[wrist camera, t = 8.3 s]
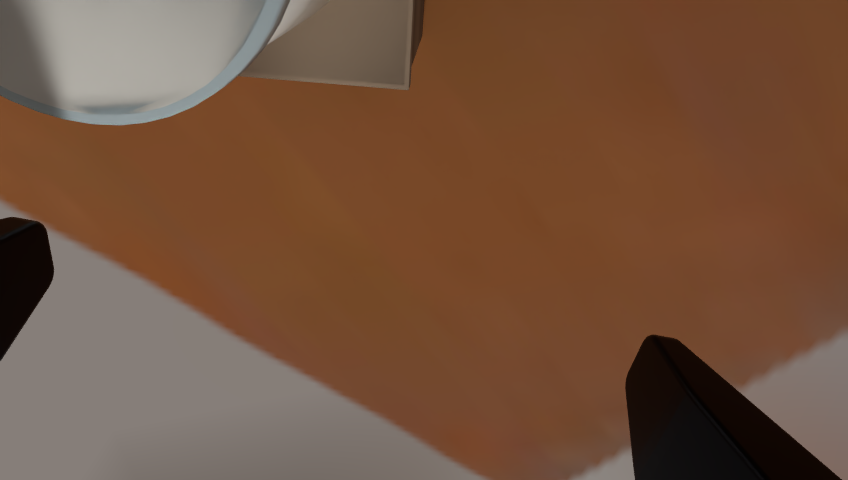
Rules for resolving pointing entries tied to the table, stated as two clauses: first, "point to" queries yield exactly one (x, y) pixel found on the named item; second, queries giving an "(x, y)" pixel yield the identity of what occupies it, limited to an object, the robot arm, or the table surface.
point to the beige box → (348, 45)
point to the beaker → (133, 53)
